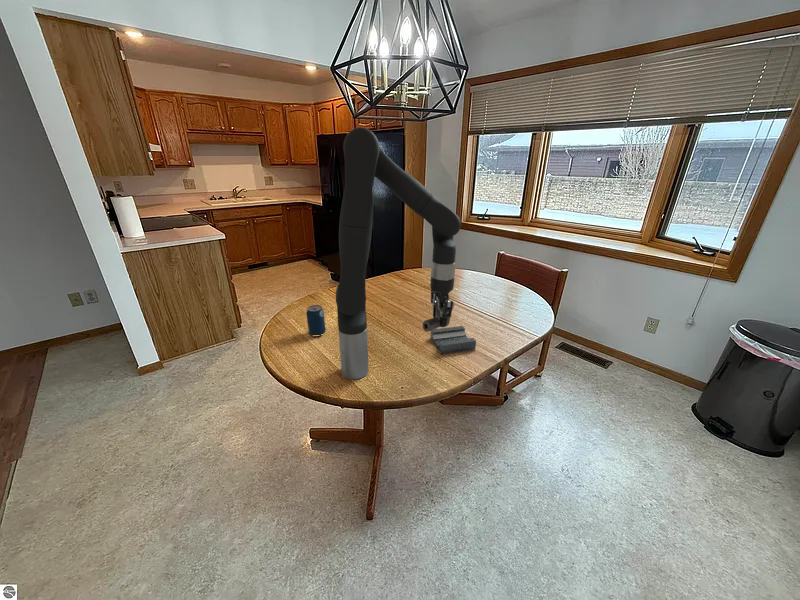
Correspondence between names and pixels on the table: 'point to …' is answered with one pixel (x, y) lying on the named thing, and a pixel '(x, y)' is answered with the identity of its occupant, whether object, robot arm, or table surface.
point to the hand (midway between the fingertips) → (439, 321)
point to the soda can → (315, 320)
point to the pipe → (434, 320)
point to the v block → (452, 340)
